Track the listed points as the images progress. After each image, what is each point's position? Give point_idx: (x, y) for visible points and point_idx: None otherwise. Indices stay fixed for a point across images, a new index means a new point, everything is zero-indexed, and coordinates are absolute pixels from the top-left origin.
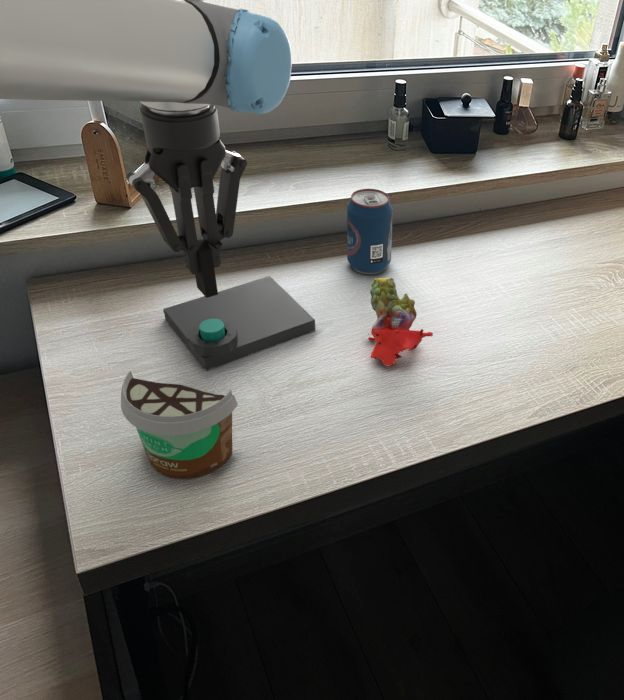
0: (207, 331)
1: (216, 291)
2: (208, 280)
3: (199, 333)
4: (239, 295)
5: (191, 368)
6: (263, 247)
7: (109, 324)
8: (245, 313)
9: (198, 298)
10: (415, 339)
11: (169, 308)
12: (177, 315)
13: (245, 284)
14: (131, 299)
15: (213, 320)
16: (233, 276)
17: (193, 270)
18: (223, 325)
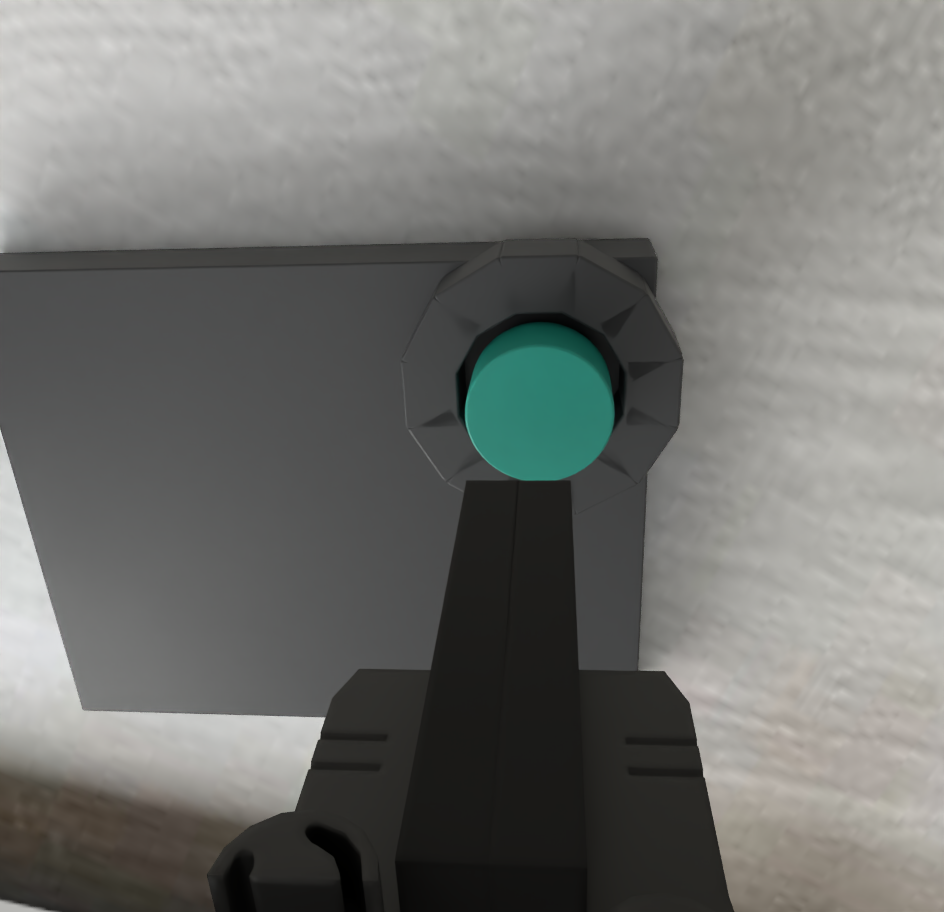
0: (588, 373)
1: (472, 497)
2: (525, 572)
3: None
4: (270, 649)
5: (701, 297)
6: (61, 897)
7: (844, 761)
8: (294, 510)
9: None
10: None
11: None
12: (601, 654)
13: (214, 707)
14: None
15: (507, 455)
16: (243, 797)
17: (654, 704)
18: (475, 380)
